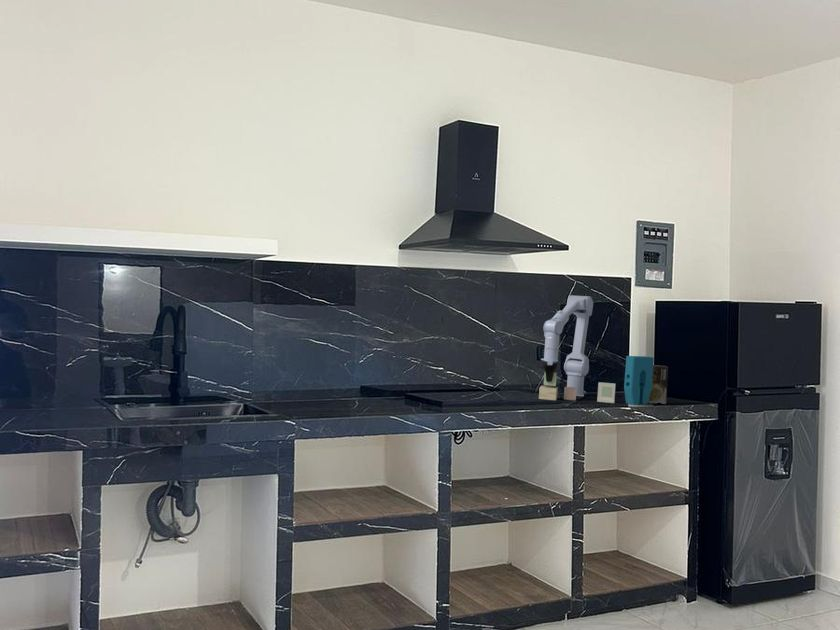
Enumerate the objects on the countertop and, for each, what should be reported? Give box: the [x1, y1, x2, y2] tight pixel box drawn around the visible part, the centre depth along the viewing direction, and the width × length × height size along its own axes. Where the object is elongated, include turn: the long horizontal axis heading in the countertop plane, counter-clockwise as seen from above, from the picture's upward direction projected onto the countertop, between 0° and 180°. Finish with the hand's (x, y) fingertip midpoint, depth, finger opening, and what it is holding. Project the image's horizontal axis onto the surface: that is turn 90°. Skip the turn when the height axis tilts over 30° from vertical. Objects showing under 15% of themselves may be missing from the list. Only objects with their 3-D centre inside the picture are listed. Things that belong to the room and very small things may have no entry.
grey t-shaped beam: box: [596, 381, 616, 404], centre depth 370 cm, size 4×7×8 cm, turn 80°
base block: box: [538, 385, 559, 401], centre depth 368 cm, size 7×7×5 cm
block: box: [623, 355, 655, 406], centre depth 370 cm, size 12×5×20 cm, turn 120°
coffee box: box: [648, 364, 669, 405], centre depth 379 cm, size 9×6×16 cm
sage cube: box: [543, 372, 558, 387], centre depth 368 cm, size 5×5×5 cm
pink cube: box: [563, 386, 577, 401], centre depth 371 cm, size 5×5×5 cm
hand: (549, 381), depth 368 cm, fingers closed on sage cube, 5 cm apart
